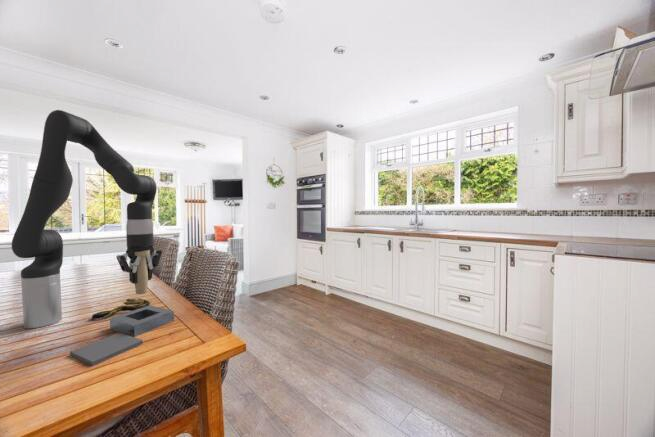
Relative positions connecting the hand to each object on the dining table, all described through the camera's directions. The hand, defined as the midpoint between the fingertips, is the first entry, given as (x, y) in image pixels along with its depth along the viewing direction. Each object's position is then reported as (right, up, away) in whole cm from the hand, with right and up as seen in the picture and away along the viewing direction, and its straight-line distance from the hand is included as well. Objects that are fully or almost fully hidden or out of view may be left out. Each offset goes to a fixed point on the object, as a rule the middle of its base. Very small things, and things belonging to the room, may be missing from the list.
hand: (141, 281), depth 90 cm
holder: (0, -15, +1) cm, 15 cm away
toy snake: (-16, -16, +13) cm, 26 cm away
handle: (0, -4, 0) cm, 4 cm away
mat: (+2, -16, -15) cm, 22 cm away
